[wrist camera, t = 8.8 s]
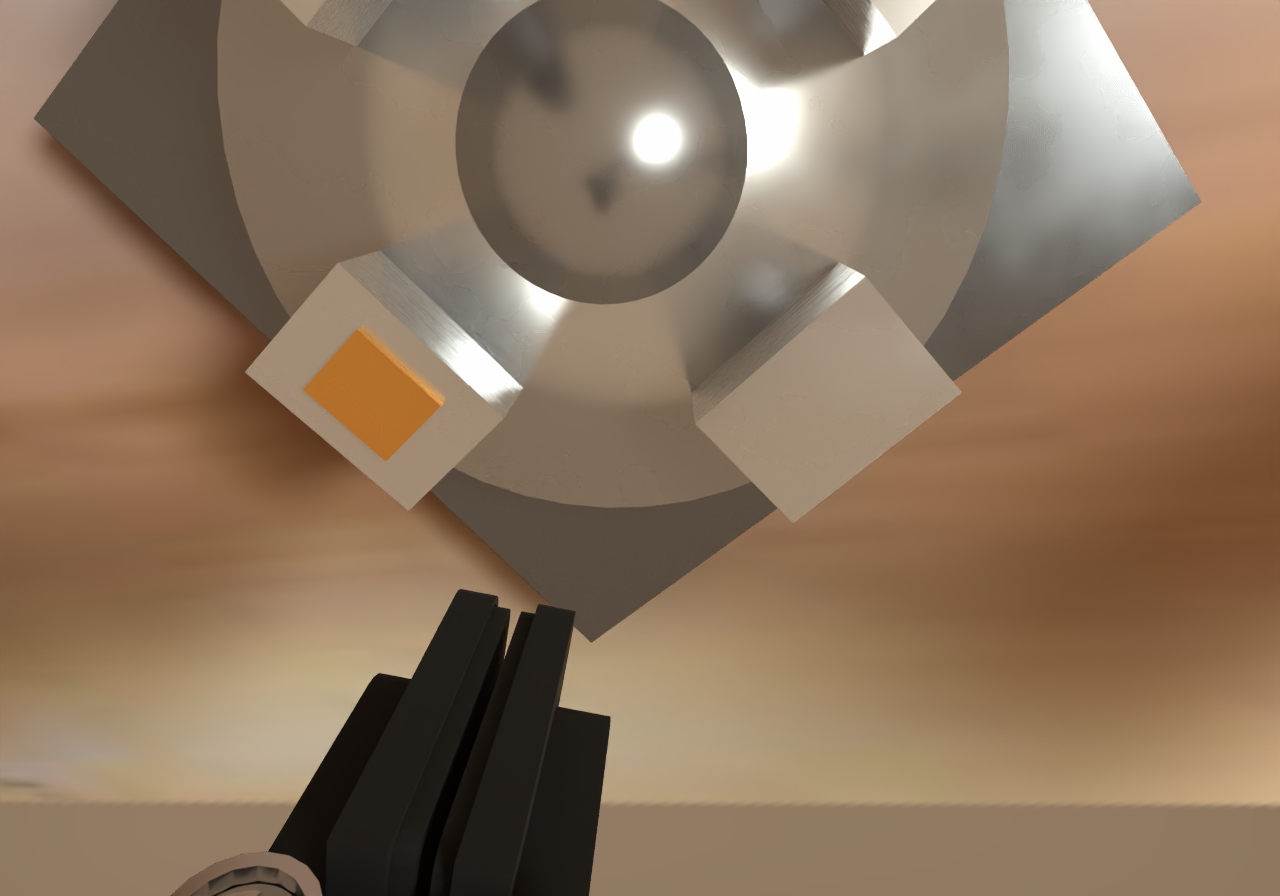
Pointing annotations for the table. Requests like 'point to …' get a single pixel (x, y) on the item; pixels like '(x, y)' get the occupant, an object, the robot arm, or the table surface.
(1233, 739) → the table surface
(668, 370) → the silver hub plate
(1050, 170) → the grey square base plate
